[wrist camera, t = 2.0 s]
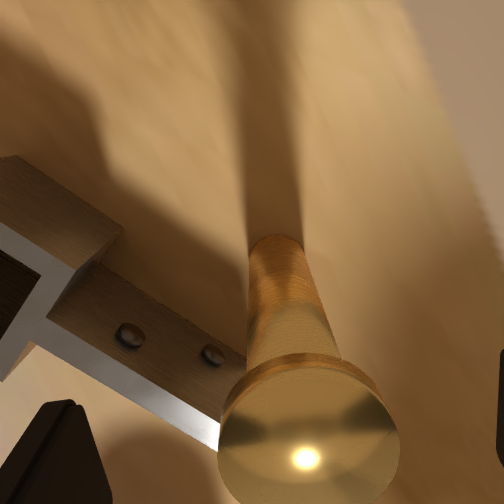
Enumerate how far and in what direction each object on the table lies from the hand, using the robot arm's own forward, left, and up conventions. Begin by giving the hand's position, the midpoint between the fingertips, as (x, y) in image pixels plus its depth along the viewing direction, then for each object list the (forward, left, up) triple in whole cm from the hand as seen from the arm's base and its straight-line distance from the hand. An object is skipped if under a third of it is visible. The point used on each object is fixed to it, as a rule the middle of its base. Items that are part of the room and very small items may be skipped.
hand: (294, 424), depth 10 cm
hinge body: (+4, +11, -13) cm, 18 cm away
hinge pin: (-1, 0, -13) cm, 13 cm away
